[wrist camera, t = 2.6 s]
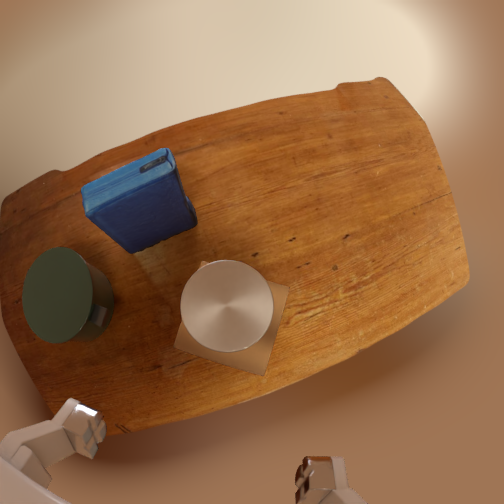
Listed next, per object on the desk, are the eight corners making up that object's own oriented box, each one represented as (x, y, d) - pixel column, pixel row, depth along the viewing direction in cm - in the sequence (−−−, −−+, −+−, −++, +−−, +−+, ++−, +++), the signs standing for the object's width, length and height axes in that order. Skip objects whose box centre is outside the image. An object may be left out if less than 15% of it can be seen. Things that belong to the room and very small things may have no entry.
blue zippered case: (192, 205, 53) (171, 137, 34) (202, 228, 52) (183, 166, 33) (124, 235, 51) (74, 182, 32) (132, 260, 49) (79, 215, 30)
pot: (110, 362, 44) (84, 365, 35) (36, 321, 45) (7, 314, 36) (136, 280, 48) (116, 267, 39) (60, 249, 49) (35, 233, 40)
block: (255, 363, 45) (263, 376, 28) (197, 345, 45) (172, 347, 28) (272, 306, 48) (290, 287, 31) (215, 289, 48) (202, 260, 31)
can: (252, 356, 28) (259, 365, 18) (193, 337, 29) (167, 335, 18) (270, 298, 30) (285, 274, 20) (211, 280, 31) (197, 247, 20)
